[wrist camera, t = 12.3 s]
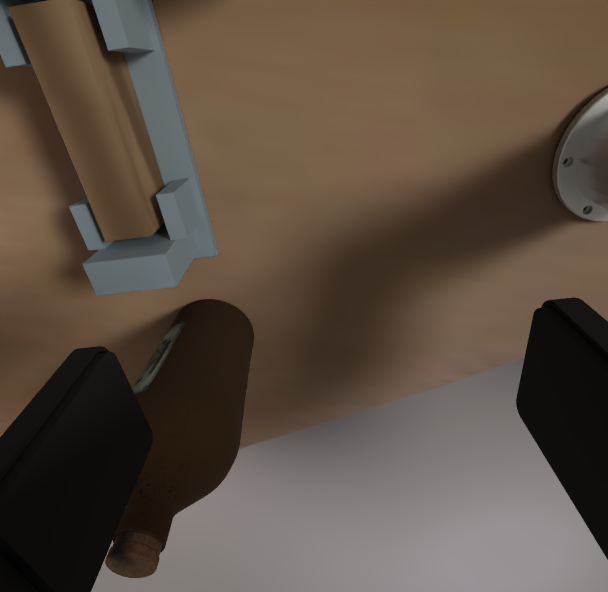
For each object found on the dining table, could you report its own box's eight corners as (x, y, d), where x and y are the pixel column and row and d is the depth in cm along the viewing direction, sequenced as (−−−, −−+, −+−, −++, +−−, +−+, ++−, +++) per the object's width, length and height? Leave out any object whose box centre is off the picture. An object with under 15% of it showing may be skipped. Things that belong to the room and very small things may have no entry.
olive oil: (274, 318, 45) (243, 551, 23) (236, 378, 49) (180, 617, 28) (188, 278, 42) (61, 497, 20) (157, 345, 47) (27, 581, 25)
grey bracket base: (129, -83, 27) (58, -144, 20) (218, 251, 40) (196, 294, 33) (-2, -58, 28) (-121, -107, 20) (127, 262, 41) (85, 307, 33)
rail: (110, 10, 29) (67, -3, 24) (173, 213, 37) (151, 236, 32) (60, 18, 29) (7, 7, 24) (133, 217, 37) (105, 241, 32)
